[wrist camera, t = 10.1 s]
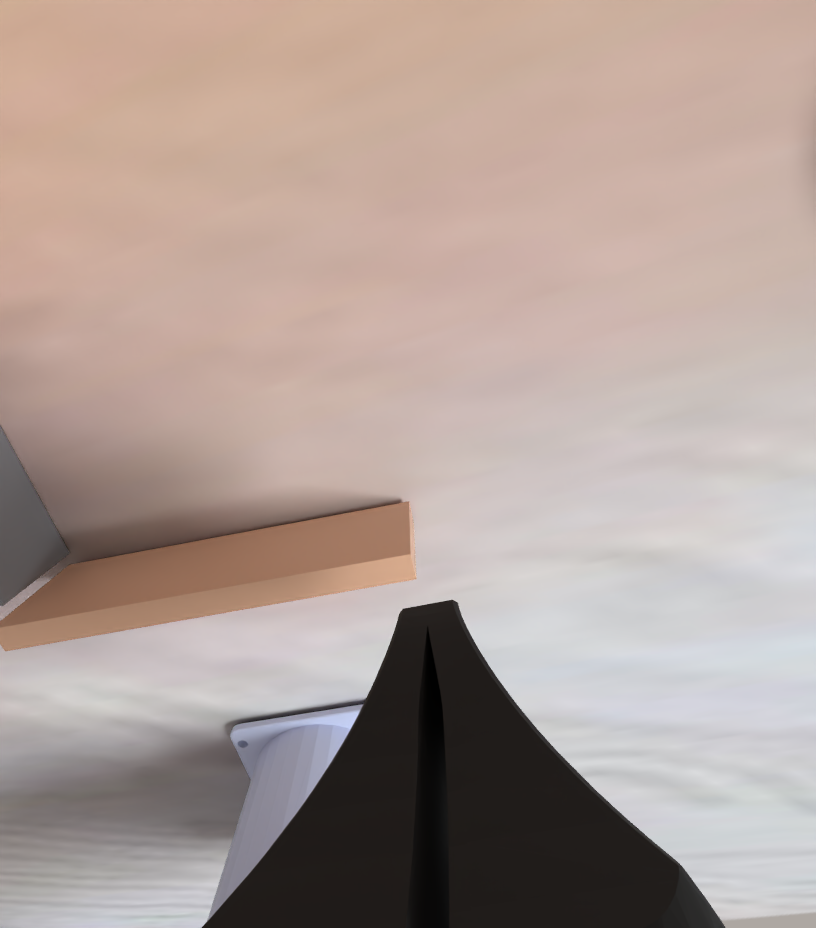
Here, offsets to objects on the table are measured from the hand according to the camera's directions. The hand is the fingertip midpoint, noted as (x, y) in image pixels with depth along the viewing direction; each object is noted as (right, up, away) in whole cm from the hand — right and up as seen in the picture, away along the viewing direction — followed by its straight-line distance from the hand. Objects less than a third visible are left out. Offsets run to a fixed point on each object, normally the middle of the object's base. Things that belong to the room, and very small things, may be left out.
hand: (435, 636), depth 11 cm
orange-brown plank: (-8, +1, +8) cm, 12 cm away
